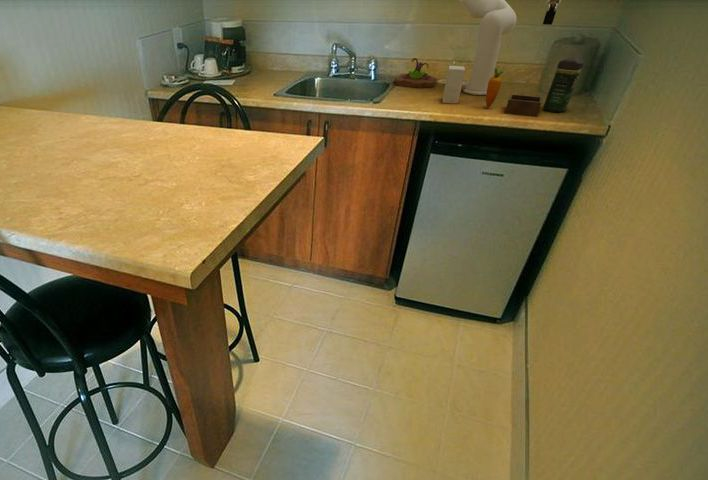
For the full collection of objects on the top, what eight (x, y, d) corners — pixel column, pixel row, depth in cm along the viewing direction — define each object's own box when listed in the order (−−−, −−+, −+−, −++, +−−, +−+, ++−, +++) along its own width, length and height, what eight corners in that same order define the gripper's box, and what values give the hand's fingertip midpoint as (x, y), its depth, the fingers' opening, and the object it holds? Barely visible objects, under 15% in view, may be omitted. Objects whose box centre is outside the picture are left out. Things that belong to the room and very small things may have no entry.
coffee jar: (561, 113, 158) (581, 60, 147) (540, 110, 162) (557, 58, 151) (568, 109, 163) (588, 57, 152) (547, 105, 168) (565, 54, 157)
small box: (458, 103, 171) (465, 69, 163) (442, 103, 172) (449, 68, 164) (457, 99, 177) (464, 66, 169) (442, 98, 178) (448, 65, 171)
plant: (398, 77, 213) (402, 53, 206) (437, 80, 207) (441, 56, 200) (390, 85, 199) (393, 60, 192) (431, 89, 193) (436, 62, 186)
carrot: (492, 106, 167) (503, 65, 158) (496, 109, 164) (507, 68, 154) (480, 106, 168) (490, 65, 159) (483, 109, 164) (494, 68, 155)
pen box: (504, 112, 160) (508, 99, 157) (507, 107, 166) (511, 94, 163) (536, 116, 155) (541, 102, 152) (537, 110, 162) (542, 97, 159)
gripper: (553, -33, 154) (538, 21, 164) (552, -33, 142) (535, 25, 152) (576, -33, 151) (558, 21, 161) (577, -33, 139) (558, 25, 149)
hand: (547, 23), depth 157 cm, fingers open, 9 cm apart
